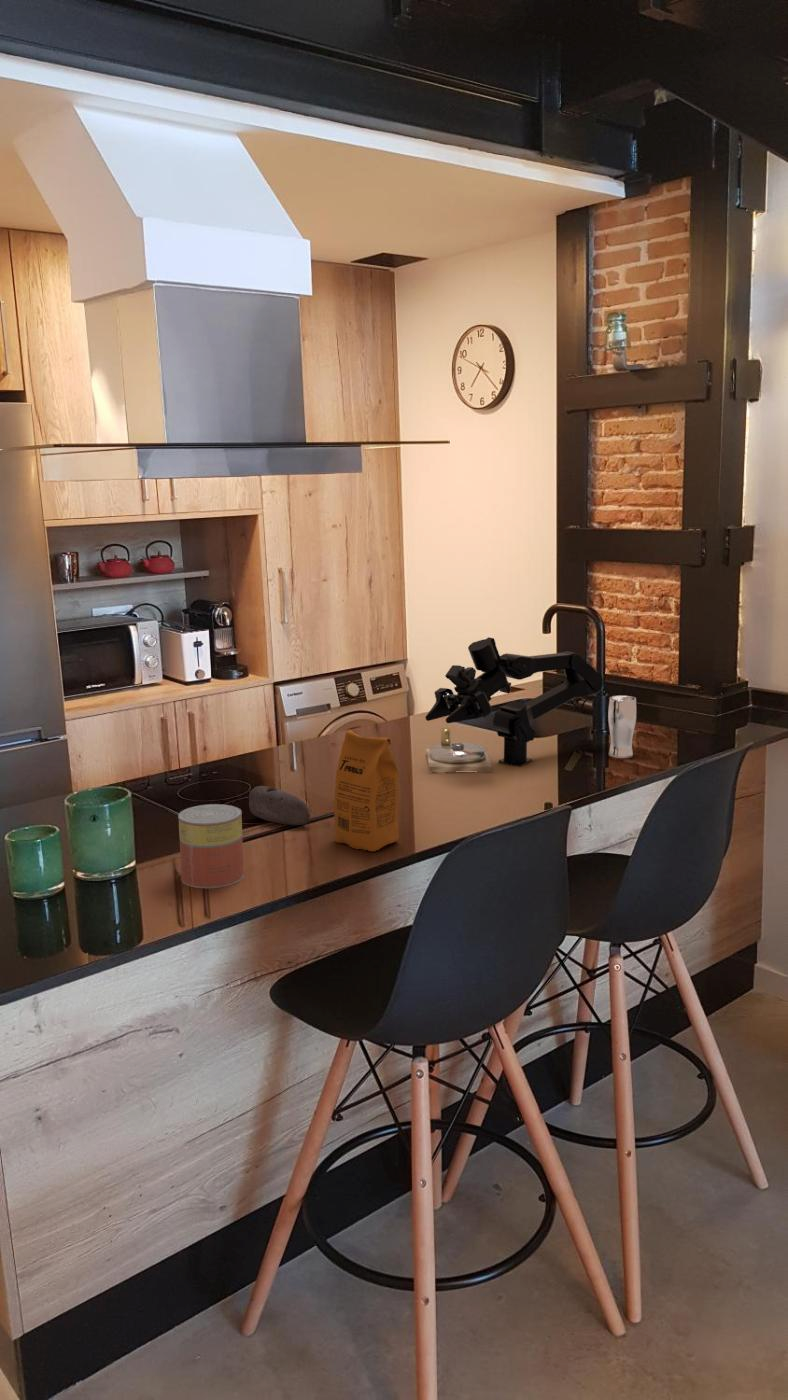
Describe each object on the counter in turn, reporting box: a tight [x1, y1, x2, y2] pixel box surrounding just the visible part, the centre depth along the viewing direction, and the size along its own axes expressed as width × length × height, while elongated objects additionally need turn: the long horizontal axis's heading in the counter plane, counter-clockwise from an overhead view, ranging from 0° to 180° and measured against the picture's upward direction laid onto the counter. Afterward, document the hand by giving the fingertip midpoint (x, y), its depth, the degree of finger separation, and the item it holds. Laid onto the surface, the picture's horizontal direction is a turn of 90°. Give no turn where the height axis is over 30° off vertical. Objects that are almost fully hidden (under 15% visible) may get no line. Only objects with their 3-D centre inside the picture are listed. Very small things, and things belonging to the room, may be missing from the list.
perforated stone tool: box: [248, 785, 311, 827], centre depth 225 cm, size 15×5×7 cm, turn 54°
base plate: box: [425, 748, 492, 773], centre depth 270 cm, size 15×18×2 cm
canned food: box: [177, 803, 245, 889], centre depth 194 cm, size 11×11×12 cm
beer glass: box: [607, 695, 637, 759], centre depth 275 cm, size 7×7×15 cm
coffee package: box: [333, 729, 400, 852], centre depth 211 cm, size 10×12×22 cm
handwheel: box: [429, 727, 487, 763], centre depth 269 cm, size 14×14×6 cm
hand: (436, 720), depth 255 cm, fingers open, 9 cm apart
